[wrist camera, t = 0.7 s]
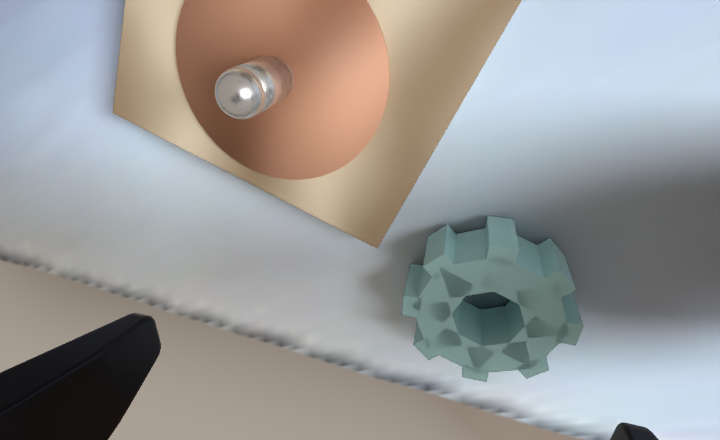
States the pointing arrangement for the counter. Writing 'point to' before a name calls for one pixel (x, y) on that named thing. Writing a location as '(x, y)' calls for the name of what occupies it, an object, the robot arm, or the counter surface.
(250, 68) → the steel pegs
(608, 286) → the counter surface
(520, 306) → the loose gear
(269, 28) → the gear board
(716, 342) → the counter surface
